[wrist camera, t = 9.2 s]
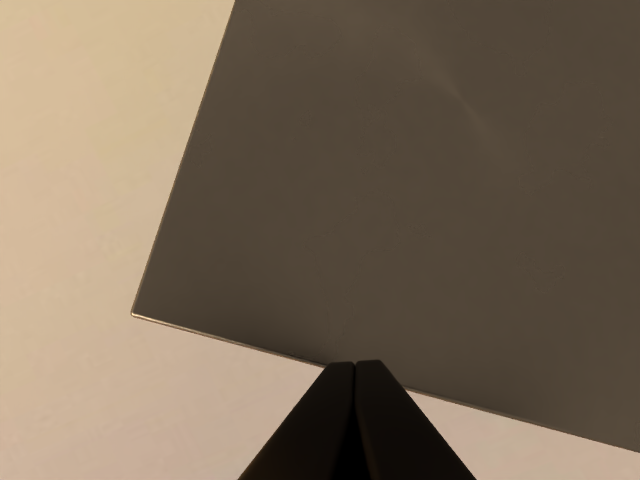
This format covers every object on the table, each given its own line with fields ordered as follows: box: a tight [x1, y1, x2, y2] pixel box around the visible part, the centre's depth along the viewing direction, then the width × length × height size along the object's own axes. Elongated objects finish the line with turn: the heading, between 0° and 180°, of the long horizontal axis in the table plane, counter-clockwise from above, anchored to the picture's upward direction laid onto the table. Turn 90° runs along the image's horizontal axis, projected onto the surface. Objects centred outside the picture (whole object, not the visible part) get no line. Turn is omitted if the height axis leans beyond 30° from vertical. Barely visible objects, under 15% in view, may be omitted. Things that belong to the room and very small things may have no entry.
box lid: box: [131, 0, 640, 453], centre depth 13 cm, size 13×12×1 cm
